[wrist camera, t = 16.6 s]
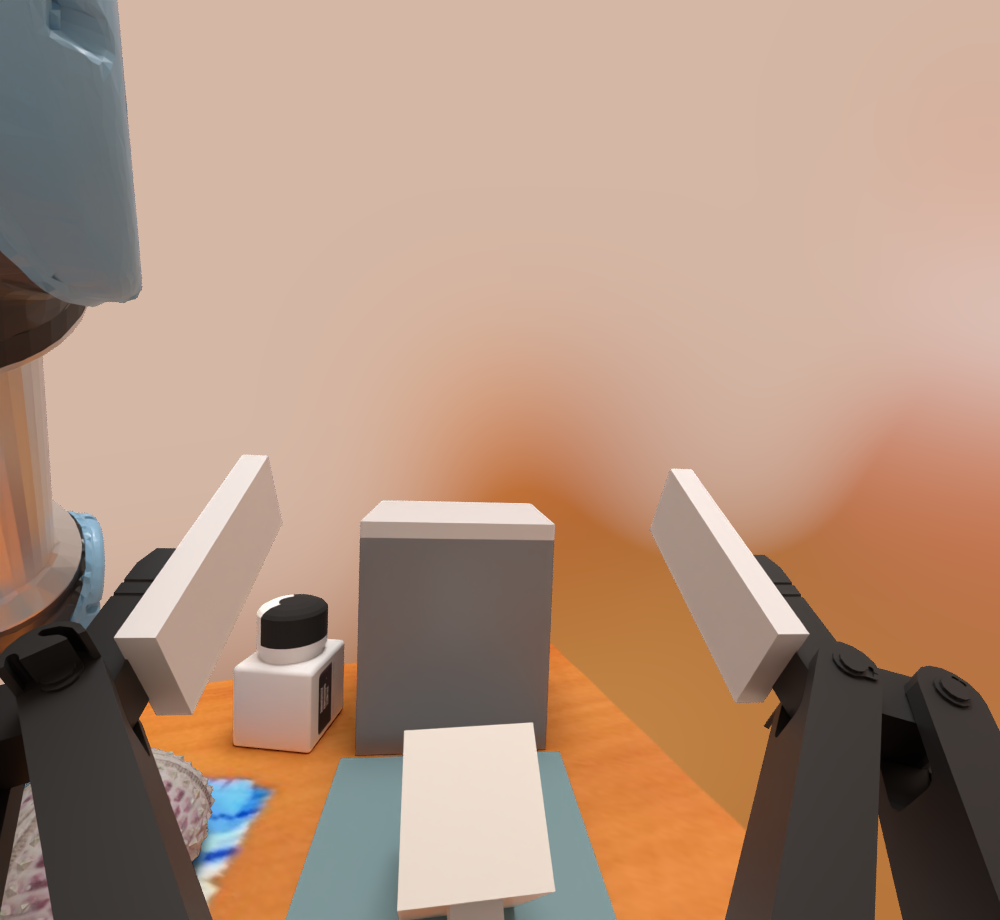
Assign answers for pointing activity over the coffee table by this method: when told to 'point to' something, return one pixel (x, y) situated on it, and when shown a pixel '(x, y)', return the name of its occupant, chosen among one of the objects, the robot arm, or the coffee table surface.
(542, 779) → the mat
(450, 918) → the tall white block
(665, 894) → the coffee table surface
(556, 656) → the coffee table surface
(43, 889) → the sea urchin shell
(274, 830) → the coffee table surface
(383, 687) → the stand
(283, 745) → the container
